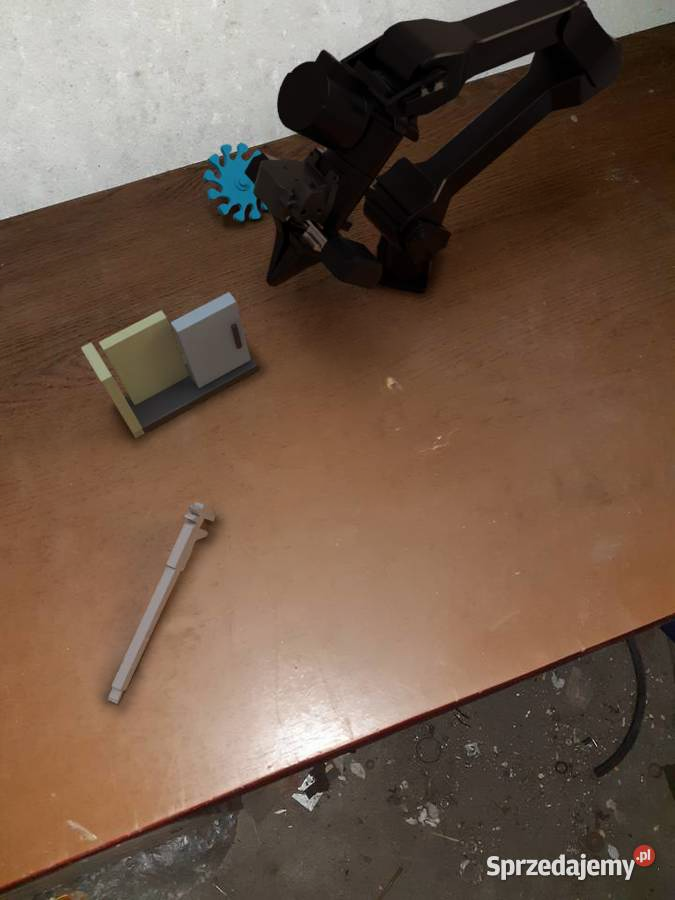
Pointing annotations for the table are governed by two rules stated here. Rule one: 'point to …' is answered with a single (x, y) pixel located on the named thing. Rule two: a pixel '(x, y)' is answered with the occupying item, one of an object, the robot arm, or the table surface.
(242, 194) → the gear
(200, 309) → the closet door
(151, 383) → the closet frame
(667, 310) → the table surface
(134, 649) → the caliper
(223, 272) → the table surface
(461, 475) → the table surface
